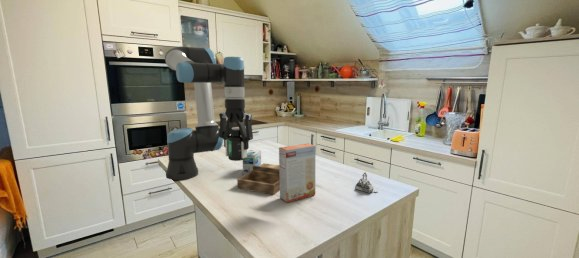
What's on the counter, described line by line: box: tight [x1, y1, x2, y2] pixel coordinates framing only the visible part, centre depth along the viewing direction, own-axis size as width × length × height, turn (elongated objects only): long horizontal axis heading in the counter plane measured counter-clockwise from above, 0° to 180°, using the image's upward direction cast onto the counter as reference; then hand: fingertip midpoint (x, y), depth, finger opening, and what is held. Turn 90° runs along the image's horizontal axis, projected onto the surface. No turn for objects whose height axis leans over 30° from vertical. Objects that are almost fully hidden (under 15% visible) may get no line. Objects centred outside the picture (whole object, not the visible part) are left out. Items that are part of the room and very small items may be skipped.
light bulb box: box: [242, 149, 262, 176], centre depth 139 cm, size 11×7×11 cm, turn 168°
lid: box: [251, 163, 279, 175], centre depth 129 cm, size 18×12×3 cm, turn 66°
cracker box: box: [278, 143, 316, 203], centre depth 107 cm, size 14×6×21 cm, turn 122°
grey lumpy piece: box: [354, 172, 378, 194], centre depth 118 cm, size 9×9×8 cm
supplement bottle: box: [227, 127, 246, 162], centre depth 107 cm, size 7×7×12 cm
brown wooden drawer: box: [236, 172, 280, 195], centre depth 119 cm, size 18×12×4 cm, turn 66°
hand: (236, 156), depth 107 cm, fingers closed on supplement bottle, 7 cm apart
